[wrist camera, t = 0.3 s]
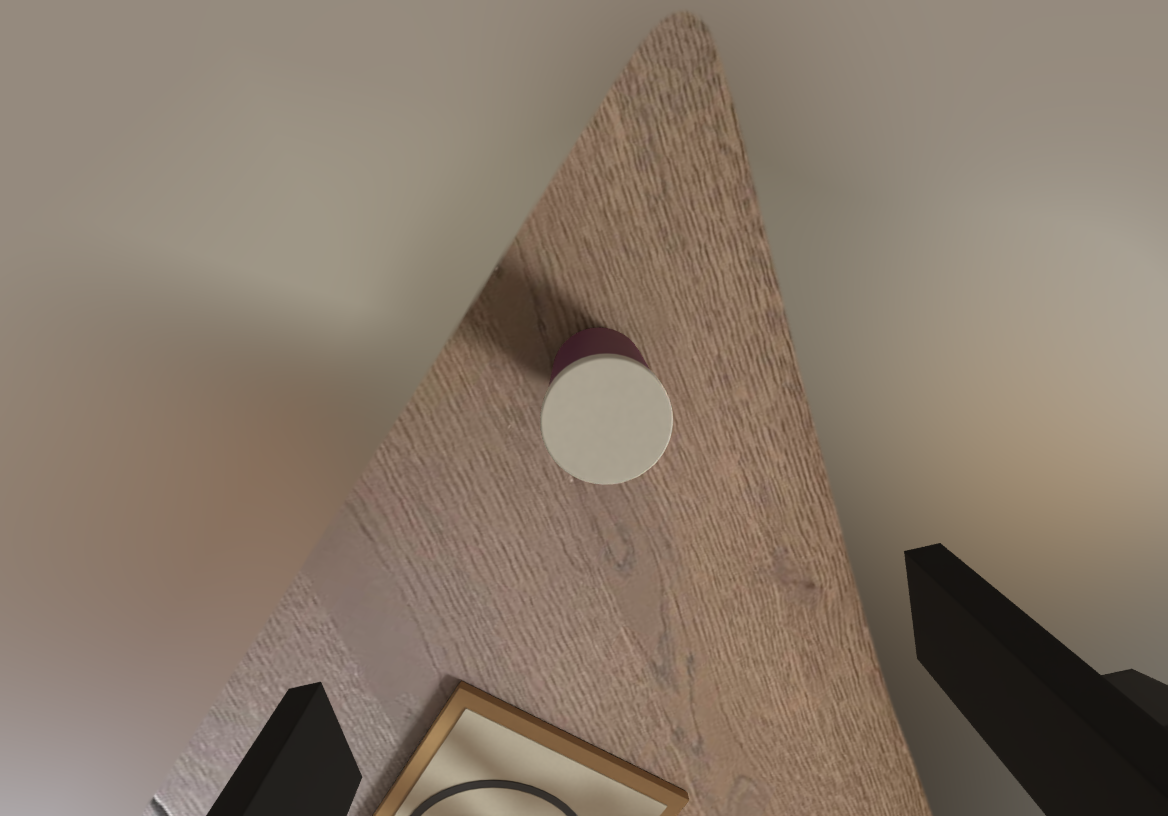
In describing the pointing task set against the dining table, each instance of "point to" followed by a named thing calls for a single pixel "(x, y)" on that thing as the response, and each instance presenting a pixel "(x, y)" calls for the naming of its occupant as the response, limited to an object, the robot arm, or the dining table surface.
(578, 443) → the cylinder
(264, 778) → the robot arm
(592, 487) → the dining table surface
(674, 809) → the sketch board
